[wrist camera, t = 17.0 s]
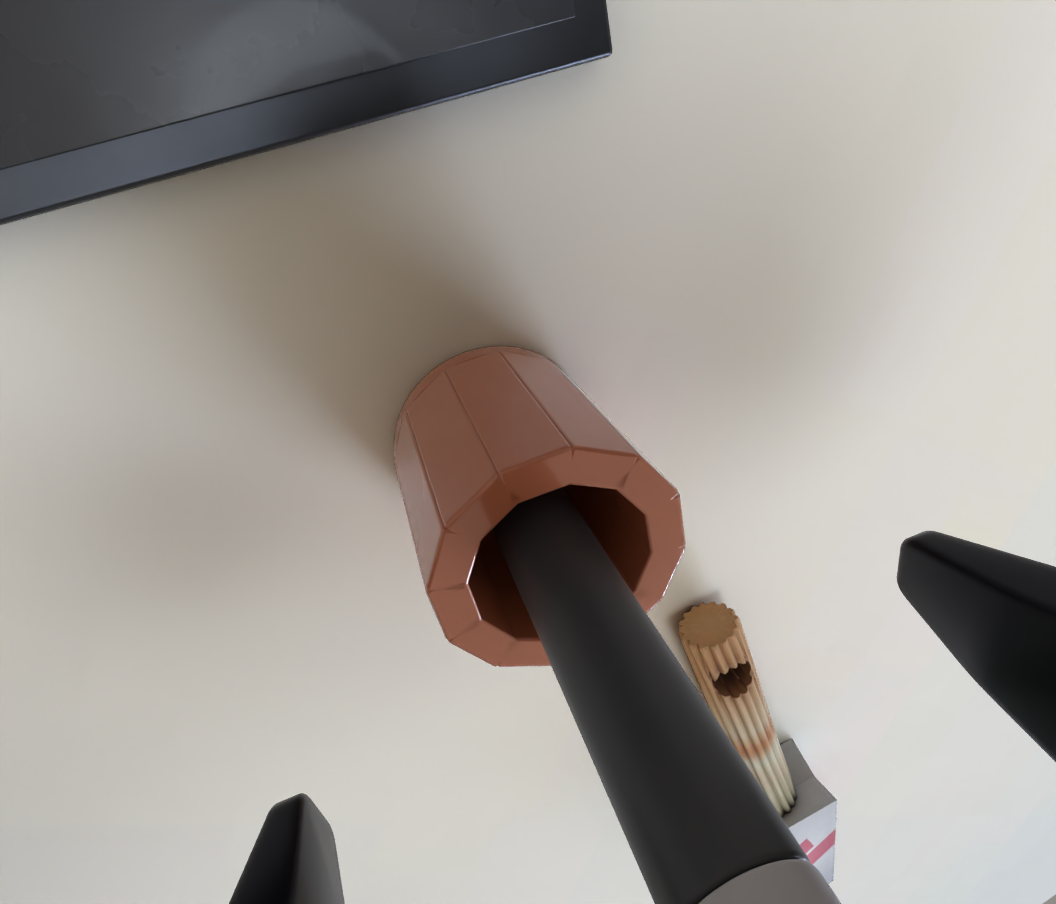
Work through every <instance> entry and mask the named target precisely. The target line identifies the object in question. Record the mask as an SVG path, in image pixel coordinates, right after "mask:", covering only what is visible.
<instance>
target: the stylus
mask: <svg viewBox="0 0 1056 904" xmlns="http://www.w3.org/2000/svg"><path fill="white" fill-rule="evenodd" d="M492 531H493V533H494V535H495V537H496V540H497V542H498V544H499V547H500V549H501V551H502V554H503V556H504V558H505V560H506V563H507V565H508V567H509V570H510V572H511V574H512V577H513V579H514V581H515V583H516V586H517V588H518V590H519V593H520V595H521V597H522V600H523V602H524V604H525V606H526V609H527V611H528V613H529V616H530V618H531V620H532V622H533V625H534V627H535V629H536V632H537V634H538V636H539V639H540V641H541V643H542V645H543V648H544V650H545V652H546V655H547V657H548V659H549V662H550V664H551V666H552V668H553V671H554V673H555V675H556V678H557V680H558V682H559V684H560V687H561V689H562V691H563V694H564V696H565V698H566V701H567V703H568V705H569V707H570V710H571V712H572V714H573V717H574V719H575V721H576V724H577V726H578V728H579V730H580V733H581V735H582V737H583V740H584V742H585V744H586V746H587V749H588V751H589V753H590V756H591V758H592V760H593V763H594V765H595V767H596V769H597V772H598V774H599V776H600V779H601V781H602V783H603V786H604V788H605V790H606V792H607V795H608V797H609V799H610V802H611V804H612V806H613V808H614V811H615V813H616V815H617V818H618V820H619V822H620V825H621V827H622V829H623V831H624V834H625V836H626V838H627V841H628V843H629V845H630V848H631V850H632V852H633V854H634V857H635V859H636V861H637V864H638V866H639V868H640V870H641V873H642V875H643V877H644V880H645V882H646V884H647V887H648V889H649V891H650V893H651V896H652V898H653V900H654V903H655V904H841V903H840V901H839V900H838V898H837V897H836V895H835V894H834V892H833V891H832V889H831V888H830V886H829V885H828V883H827V882H826V880H825V879H824V877H823V876H822V874H821V873H820V871H819V870H818V869H817V868H816V867H815V866H814V865H812V864H811V863H810V861H809V858H808V857H807V855H806V854H805V852H804V851H803V849H802V848H801V846H800V845H799V843H798V842H797V840H796V839H795V837H794V836H793V834H792V833H791V831H790V830H789V828H788V827H787V825H786V824H785V822H784V821H783V819H782V817H781V816H780V814H779V813H778V811H777V810H776V808H775V807H774V805H773V804H772V802H771V801H770V799H769V798H768V796H767V795H766V793H765V792H764V790H763V789H762V787H761V786H760V784H759V783H758V781H757V780H756V778H755V777H754V775H753V774H752V772H751V771H750V769H749V768H748V766H747V765H746V763H745V762H744V760H743V759H742V757H741V756H740V754H739V753H738V751H737V750H736V748H735V747H734V745H733V744H732V742H731V741H730V739H729V738H728V736H727V735H726V733H725V732H724V730H723V729H722V727H721V726H720V724H719V722H718V721H717V719H716V718H715V716H714V715H713V713H712V712H711V710H710V709H709V707H708V706H707V704H706V703H705V701H704V700H703V698H702V697H701V695H700V694H699V692H698V691H697V689H696V688H695V686H694V685H693V683H692V682H691V680H690V679H689V677H688V676H687V674H686V673H685V671H684V670H683V668H682V667H681V665H680V664H679V662H678V661H677V659H676V658H675V656H674V655H673V653H672V652H671V650H670V649H669V647H668V646H667V644H666V643H665V641H664V640H663V638H662V637H661V635H660V634H659V632H658V631H657V629H656V628H655V626H654V624H653V623H652V621H651V620H650V618H649V617H648V615H647V614H646V612H645V611H644V609H643V608H642V606H641V605H640V603H639V602H638V600H637V599H636V597H635V596H634V594H633V593H632V591H631V590H630V588H629V587H628V585H627V584H626V582H625V581H624V579H623V578H622V576H621V575H620V573H619V572H618V570H617V569H616V567H615V566H614V564H613V563H612V561H611V560H610V558H609V557H608V555H607V554H606V552H605V551H604V549H603V548H602V546H601V545H600V543H599V542H598V540H597V539H596V537H595V536H594V534H593V533H592V531H591V529H590V528H589V526H588V525H587V523H586V522H585V520H584V519H583V517H582V516H581V514H580V513H579V511H578V510H577V508H576V507H575V505H574V504H573V502H572V501H571V499H570V498H569V496H568V495H567V493H566V492H565V490H564V489H563V487H561V488H558V489H556V490H553V491H550V492H548V493H545V494H542V495H540V496H537V497H534V498H532V499H529V500H526V501H524V502H521V503H518V504H517V505H516V506H515V507H514V508H513V509H512V510H511V511H510V512H509V513H508V514H507V515H506V516H505V517H504V518H503V519H502V520H501V521H500V522H499V523H498V524H497V525H496V526H495V527H494V528H493V529H492Z"/></svg>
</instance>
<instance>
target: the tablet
mask: <svg viewBox="0 0 1056 904" xmlns="http://www.w3.org/2000/svg"><path fill="white" fill-rule="evenodd" d="M611 54H612V45H611V37H610V29H609V21H608V13H607V6H606V0H0V225H2V224H6V223H9V222H13V221H17V220H20V219H24V218H27V217H31V216H35V215H38V214H42V213H46V212H49V211H53V210H56V209H60V208H64V207H67V206H71V205H74V204H78V203H82V202H85V201H89V200H92V199H96V198H100V197H103V196H107V195H110V194H114V193H118V192H121V191H125V190H129V189H132V188H136V187H139V186H143V185H147V184H150V183H154V182H157V181H161V180H165V179H168V178H172V177H175V176H179V175H183V174H186V173H190V172H194V171H197V170H201V169H204V168H208V167H212V166H215V165H219V164H222V163H226V162H230V161H233V160H237V159H240V158H244V157H248V156H251V155H255V154H258V153H262V152H266V151H269V150H273V149H277V148H280V147H284V146H287V145H291V144H295V143H298V142H302V141H305V140H309V139H313V138H316V137H320V136H323V135H327V134H331V133H334V132H338V131H342V130H345V129H349V128H352V127H356V126H360V125H363V124H367V123H370V122H374V121H378V120H381V119H385V118H388V117H392V116H396V115H399V114H403V113H407V112H410V111H414V110H417V109H421V108H425V107H428V106H432V105H435V104H439V103H443V102H446V101H450V100H453V99H457V98H461V97H464V96H468V95H471V94H475V93H479V92H482V91H486V90H490V89H493V88H497V87H500V86H504V85H508V84H511V83H515V82H518V81H522V80H526V79H529V78H533V77H536V76H540V75H544V74H547V73H551V72H555V71H558V70H562V69H565V68H569V67H573V66H576V65H580V64H583V63H587V62H591V61H594V60H598V59H601V58H605V57H608V56H610V55H611Z"/></svg>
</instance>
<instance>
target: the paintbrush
mask: <svg viewBox="0 0 1056 904" xmlns="http://www.w3.org/2000/svg"><path fill="white" fill-rule="evenodd" d="M679 627H680V629H679V634H678V635H679V637H680V640H681V642H682V644H683V647H684V649H685V651H686V654H687V656H688V658H689V661H690V663H691V665H692V668H693V670H694V672H695V675H696V677H697V680H698V682H699V684H700V687H701V689H702V691H703V694H704V696H705V698H706V701H707V703H708V705H709V708H710V710H711V712H712V713H713V715H714V716H715V718H716V719H717V721H718V722H719V724H720V726H721V727H722V729H723V730H724V732H725V733H726V735H727V736H728V738H729V739H730V741H731V742H732V744H733V745H734V747H735V748H736V750H737V751H738V753H739V754H740V756H741V757H742V759H743V760H744V762H745V763H746V765H747V766H748V768H749V769H750V771H751V772H752V774H753V775H754V777H755V778H756V780H757V781H758V783H759V784H760V786H761V787H762V789H763V790H764V792H765V793H766V795H767V796H768V798H769V799H770V801H771V802H772V804H773V805H774V807H775V808H776V810H777V811H778V813H779V814H780V816H781V817H782V819H783V821H784V822H785V824H786V825H787V827H788V828H789V830H790V831H791V833H792V834H793V836H794V837H795V839H796V840H797V842H798V843H799V845H800V846H801V848H802V849H803V851H804V852H805V854H806V855H807V857H808V858H809V861H810V863H811V864H812V865H814V866H815V867H816V868H817V869H818V870H819V871H820V873H821V874H822V876H823V877H824V879H825V880H826V882H827V883H828V884H829V883H830V882H832V881H833V874H834V852H835V830H836V808H837V800H836V799H835V798H834V797H833V795H832V794H831V793H830V792H829V791H828V790H827V789H826V788H825V787H824V786H823V785H822V784H821V783H820V782H819V781H818V780H817V779H816V777H815V776H814V775H813V773H812V771H811V770H810V768H809V766H808V765H807V763H806V761H805V760H804V758H803V756H802V755H801V753H800V751H799V750H798V748H797V746H796V745H795V743H794V741H793V739H790V740H788V741H786V742H785V743H783V744H781V745H780V744H779V741H778V738H777V735H776V732H775V729H774V726H773V723H772V720H771V717H770V713H769V710H768V707H767V704H766V701H765V698H764V695H763V691H762V688H761V685H760V682H759V679H758V676H757V673H756V669H755V666H754V663H753V660H752V657H751V654H750V651H749V647H748V644H747V641H746V638H745V635H744V632H743V629H742V625H741V622H740V619H739V617H737V616H736V615H735V612H734V610H733V609H731V608H727V607H726V605H725V604H724V603H722V604H719V605H717V604H716V603H715V602H711V603H709V604H708V605H707V604H705V603H701V604H700V605H699V607H692V609H691V611H690V612H687V613H684V615H683V620H681V621H679Z"/></svg>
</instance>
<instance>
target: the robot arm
mask: <svg viewBox="0 0 1056 904" xmlns="http://www.w3.org/2000/svg"><path fill="white" fill-rule="evenodd" d="M897 582H898V586H899V588H900V590H901V592H902V593H903V595H904V596H905V597H906V599H907V600H908V601H909V602H910V603H911V605H912V606H913V607H914V608H915V609H916V611H917V612H918V613H919V614H920V616H921V617H922V618H923V619H924V620H925V622H926V623H927V624H928V625H929V626H930V628H931V629H932V630H933V631H934V632H935V634H936V635H937V636H938V637H939V638H940V640H941V641H942V642H943V643H944V645H945V646H946V647H947V648H948V649H949V651H950V652H951V653H952V654H953V655H954V657H955V658H956V659H957V660H958V661H959V663H960V664H961V665H962V666H963V667H964V669H965V670H966V671H967V672H968V673H969V674H970V675H971V676H972V678H973V679H974V680H975V681H976V682H977V683H978V684H979V685H980V686H981V687H982V688H983V689H984V690H985V691H986V692H987V694H988V695H989V696H990V697H991V698H992V699H993V700H994V701H995V702H996V703H997V704H998V705H999V706H1000V707H1001V708H1002V709H1003V710H1004V711H1005V712H1006V713H1007V714H1008V715H1009V716H1010V717H1011V718H1012V719H1013V720H1014V721H1015V722H1016V723H1017V724H1018V725H1019V726H1020V727H1021V728H1022V729H1023V730H1024V731H1025V732H1026V733H1027V734H1028V735H1029V736H1030V737H1031V738H1032V739H1033V740H1034V741H1035V742H1036V743H1037V744H1038V745H1039V746H1040V747H1041V748H1042V749H1043V750H1044V751H1045V752H1046V753H1047V754H1048V755H1049V756H1050V757H1051V758H1052V759H1053V760H1054V761H1055V762H1056V567H1054V566H1051V565H1047V564H1044V563H1041V562H1037V561H1034V560H1031V559H1027V558H1024V557H1020V556H1017V555H1014V554H1010V553H1007V552H1004V551H1000V550H997V549H993V548H990V547H987V546H983V545H980V544H976V543H973V542H970V541H966V540H963V539H960V538H956V537H953V536H949V535H946V534H943V533H939V532H935V531H925V532H921V533H919V534H917V535H914V536H912V537H910V538H907V539H905V540H904V541H903V543H902V544H901V548H900V556H899V564H898V572H897ZM229 904H345V903H344V897H343V890H342V883H341V877H340V870H339V864H338V857H337V851H336V844H335V839H334V835H333V832H332V829H331V826H330V824H329V823H328V821H327V820H326V819H325V817H324V816H323V815H322V813H321V812H320V811H319V809H318V808H317V807H316V805H315V804H314V803H313V801H312V800H311V799H310V798H309V797H308V796H307V795H306V794H303V793H301V794H298V795H295V796H293V797H291V798H288V799H286V800H283V801H281V802H279V803H277V804H275V805H274V806H273V807H272V808H271V810H270V811H269V813H268V815H267V817H266V820H265V822H264V824H263V827H262V829H261V831H260V833H259V836H258V838H257V840H256V843H255V845H254V847H253V850H252V852H251V854H250V856H249V859H248V861H247V863H246V866H245V868H244V870H243V873H242V875H241V877H240V879H239V882H238V884H237V886H236V889H235V891H234V893H233V896H232V898H231V900H230V902H229Z"/></svg>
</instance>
